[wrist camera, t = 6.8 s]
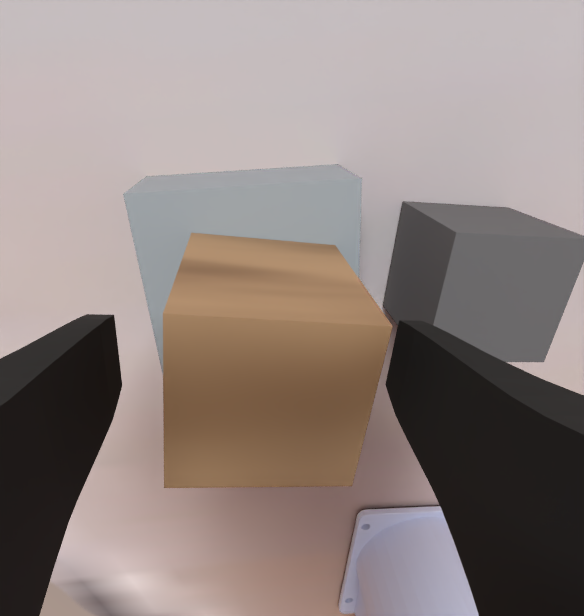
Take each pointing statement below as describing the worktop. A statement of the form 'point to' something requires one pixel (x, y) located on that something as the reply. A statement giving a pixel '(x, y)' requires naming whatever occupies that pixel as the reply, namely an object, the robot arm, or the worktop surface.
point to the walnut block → (267, 365)
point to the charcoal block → (484, 276)
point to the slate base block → (238, 217)
